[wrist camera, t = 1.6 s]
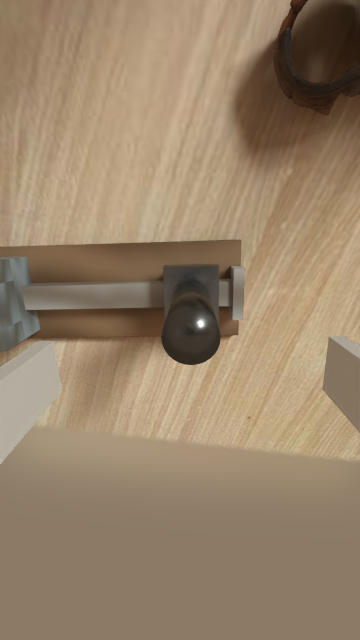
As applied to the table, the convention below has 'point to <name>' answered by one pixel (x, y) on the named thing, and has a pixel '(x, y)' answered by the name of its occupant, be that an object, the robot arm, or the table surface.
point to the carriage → (191, 312)
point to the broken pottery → (300, 90)
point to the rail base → (120, 270)
